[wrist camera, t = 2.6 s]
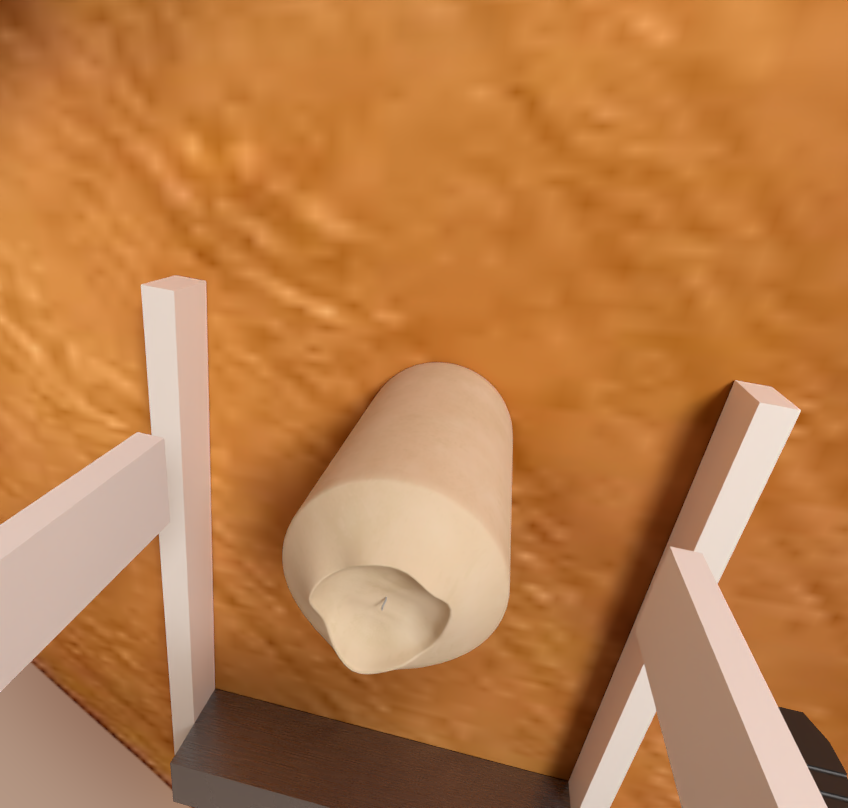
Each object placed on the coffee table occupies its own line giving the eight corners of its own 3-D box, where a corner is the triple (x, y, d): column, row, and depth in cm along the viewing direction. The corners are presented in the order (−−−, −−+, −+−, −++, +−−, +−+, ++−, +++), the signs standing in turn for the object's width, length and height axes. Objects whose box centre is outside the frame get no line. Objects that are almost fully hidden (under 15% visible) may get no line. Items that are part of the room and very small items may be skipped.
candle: (472, 511, 21) (439, 752, 12) (350, 452, 21) (226, 651, 12) (540, 400, 19) (560, 597, 10) (404, 334, 19) (299, 470, 10)
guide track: (576, 822, 28) (585, 919, 24) (195, 720, 30) (150, 794, 26) (771, 386, 18) (838, 439, 14) (175, 275, 20) (97, 296, 16)
